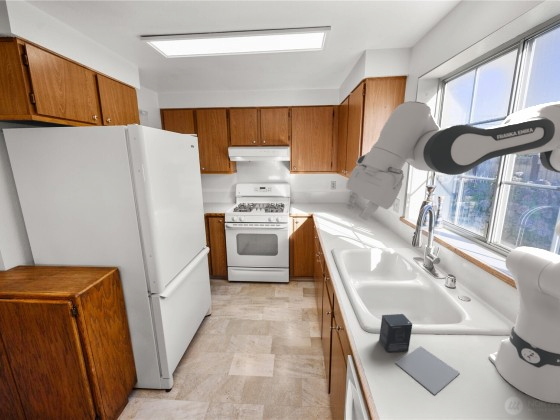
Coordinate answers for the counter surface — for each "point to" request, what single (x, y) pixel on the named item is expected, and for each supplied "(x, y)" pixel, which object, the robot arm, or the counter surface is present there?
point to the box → (395, 333)
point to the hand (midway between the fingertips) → (354, 213)
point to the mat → (427, 369)
